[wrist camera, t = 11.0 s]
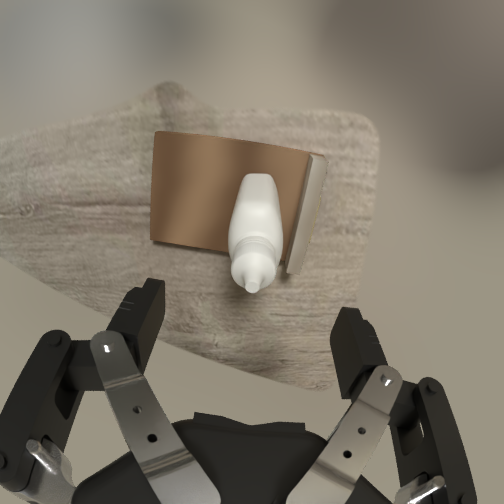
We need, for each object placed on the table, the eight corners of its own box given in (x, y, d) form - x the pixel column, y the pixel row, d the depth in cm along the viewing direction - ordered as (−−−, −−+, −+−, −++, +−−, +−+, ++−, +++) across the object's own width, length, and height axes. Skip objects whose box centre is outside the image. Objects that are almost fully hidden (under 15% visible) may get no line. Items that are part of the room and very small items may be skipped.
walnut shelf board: (153, 235, 28) (142, 249, 26) (158, 130, 23) (146, 135, 21) (298, 258, 29) (301, 275, 26) (323, 155, 24) (330, 162, 21)
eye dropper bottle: (220, 219, 26) (190, 307, 16) (251, 163, 24) (239, 219, 13) (264, 242, 27) (262, 338, 16) (297, 189, 25) (322, 263, 14)
